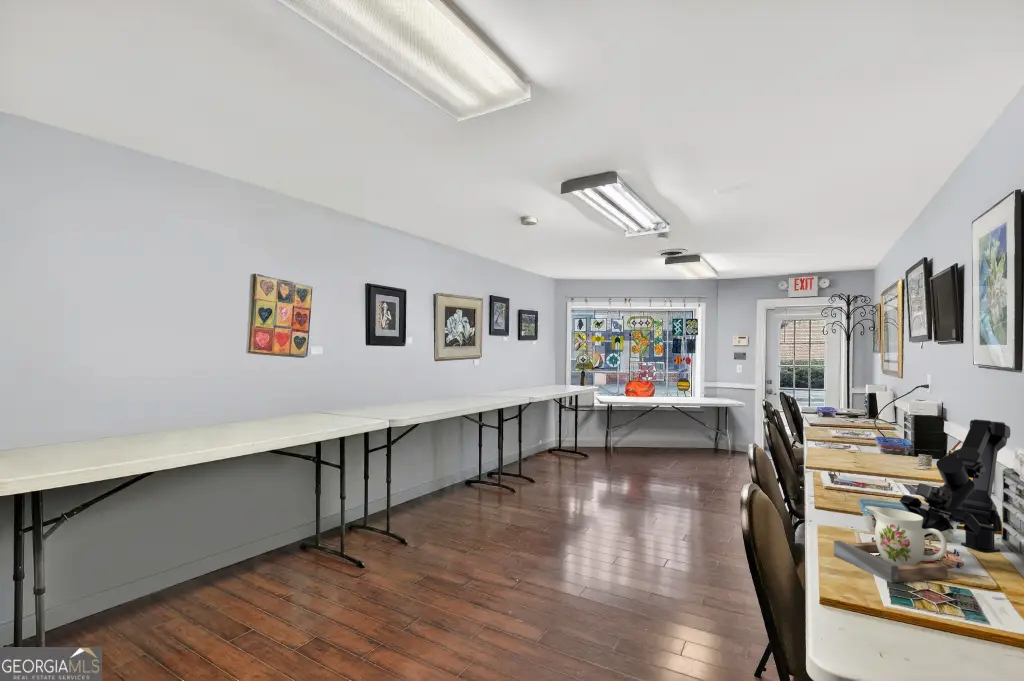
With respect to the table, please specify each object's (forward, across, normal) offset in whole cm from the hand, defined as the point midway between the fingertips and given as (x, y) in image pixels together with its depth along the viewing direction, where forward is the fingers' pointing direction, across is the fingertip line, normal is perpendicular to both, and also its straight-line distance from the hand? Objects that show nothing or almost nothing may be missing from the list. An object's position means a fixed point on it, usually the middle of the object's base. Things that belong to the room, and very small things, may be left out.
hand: (920, 536), depth 144 cm
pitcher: (+9, 0, +2) cm, 9 cm away
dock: (+12, 0, -2) cm, 13 cm away
